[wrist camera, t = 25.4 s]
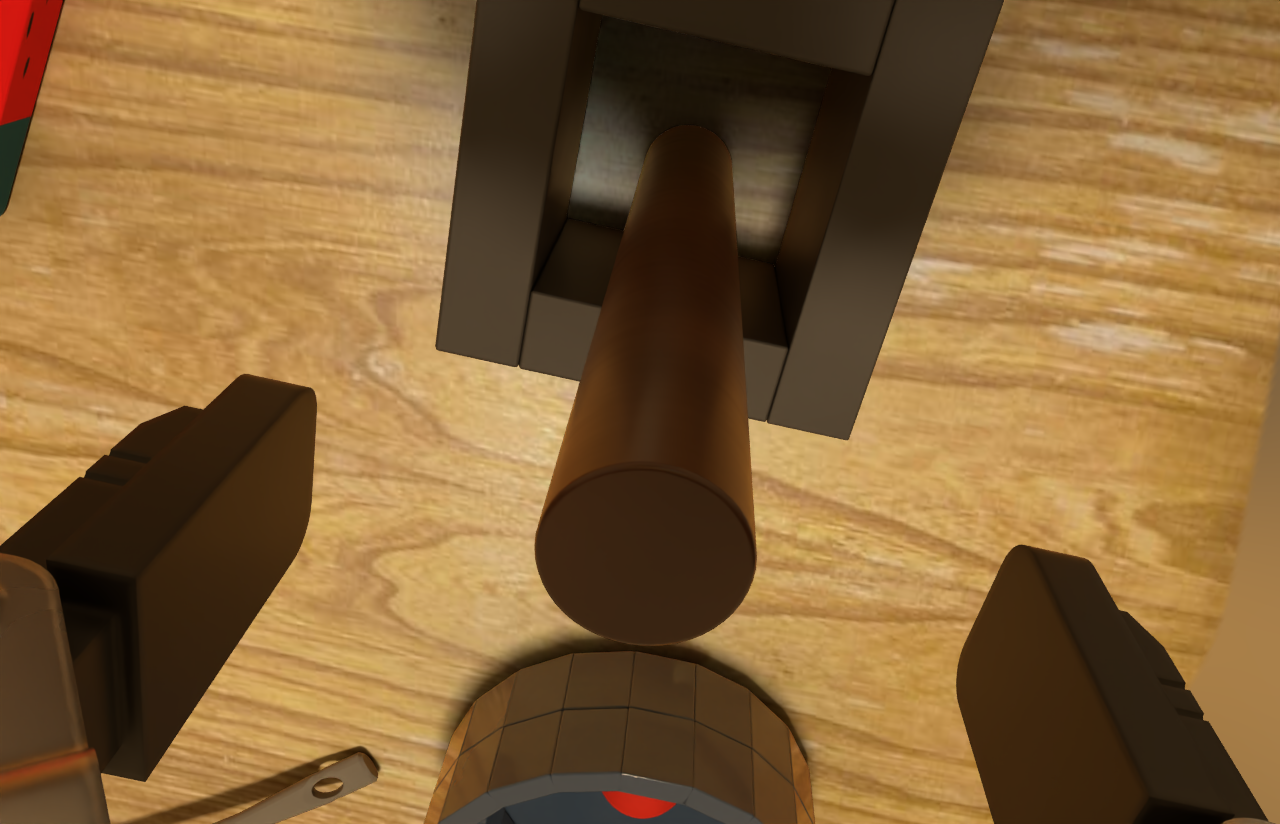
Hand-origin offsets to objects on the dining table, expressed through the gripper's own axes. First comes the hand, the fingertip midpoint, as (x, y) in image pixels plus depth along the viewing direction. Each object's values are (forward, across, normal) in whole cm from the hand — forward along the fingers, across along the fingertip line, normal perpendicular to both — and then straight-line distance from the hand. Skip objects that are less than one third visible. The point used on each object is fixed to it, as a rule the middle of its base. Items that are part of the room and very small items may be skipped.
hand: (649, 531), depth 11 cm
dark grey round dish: (+17, -3, +23) cm, 29 cm away
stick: (+17, 0, 0) cm, 17 cm away
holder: (+17, 0, -1) cm, 17 cm away
